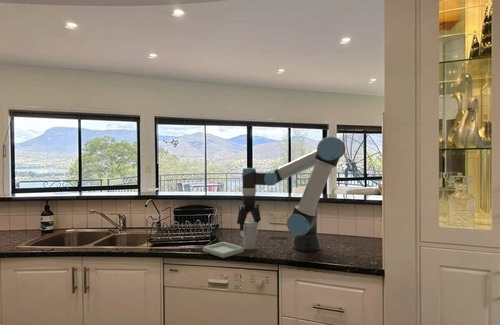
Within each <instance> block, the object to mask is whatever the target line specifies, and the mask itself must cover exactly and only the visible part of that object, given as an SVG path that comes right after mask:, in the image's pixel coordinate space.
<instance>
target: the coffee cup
mask: <svg viewBox="0 0 500 325" xmlns="http://www.w3.org/2000/svg"><path fill="white" fill-rule="evenodd" d="M244 225H245V237H243V236H242V244H243V246H242V247H244V250H248V251H249V250H250V251H251V250H255V249H256V240H257V234H256V229H257V226H258V227H259V224H258V225H257V223H256V221H254V219H253V220H252V219H251V220H249V219H248V220H246V219H245V222H244Z"/></svg>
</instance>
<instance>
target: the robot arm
mask: <svg viewBox="0 0 500 325" xmlns="http://www.w3.org/2000/svg"><path fill="white" fill-rule="evenodd" d="M345 151H346V145H345V143H344V141H342V139H340V138H337V137H335V136H326V137H323V138H322V139H320V141H319V142H318V143H317V148H316V150H314V151H312V152H310V153H308V154H305V155H302V156H301V157H299V158H296V159H295V160H293V161H290V162H288V163H285V164H284V165H282V166H280V167H278V168H275V169H272V170H270V171H267V170H266V171H257V170H256V168H255V167H245V168H243V169H242V176H241V178H242V196H241V197H242V200H241V201H242V203H243V205H239V206H238V214H237V220H236V224H238V225H239V230H240V237H242V238H243V237H245V225H244V222H245V221H246V219H247V217H248V214H249V213H250V214H251V216H252V219H253V221H256V223H257V225H258V226H257V229H256V235H257V234H258V228H259V222H260V221H261V213H260V204H259V203H256V201H257V200H256V198H257V197H256V190H257V187H256V186H267V187H269V186H275V185H276V184H279V183H280V182H281V181H284V180H286V179H288V178H291V177H292V176H295V175H297V174H300V173H302V172H303V171H306V170H308V169H310V168H313V169H312V172H311V174H310V176H309V179H308V182H307V183H306V186H305V189H304V191H303V193H302V197H301V198H300V201H299V203H298V204H296V205H295V206H294V208H293V211H292V213H291V214H290V215H289V217H288V218H287V220H286V227H287V230H288V231H289V232H290V233H291V234H292V235H294V238H293V242H292V248H293V249H295V250H297V251H302V252H315V251H318V250H320V249H321V244H320V241H319V236H318V210H317V206H318V203H319V201H320V198H321V195H322V194H323V191H324V189H325V186H326V184H327V182H328V179H329V177H330V174H331V172H332V169H334V168H337V165H338V163H339V161H340V158H342V157H343V156H344V154H345Z"/></svg>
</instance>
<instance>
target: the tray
mask: <svg viewBox="0 0 500 325" xmlns="http://www.w3.org/2000/svg"><path fill="white" fill-rule="evenodd" d="M202 252H203V253H205V254H209V255H212V256H216V257H219V258H221V259H225V258H228V257H232V256H234V255H235V256H236V255H239V254H241V253H244V252H245V249H244V247H243V246H241V245H237V244H233V243H229V242H225V241H222V242H217V243H214V244H209V245H206V246H202Z"/></svg>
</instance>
